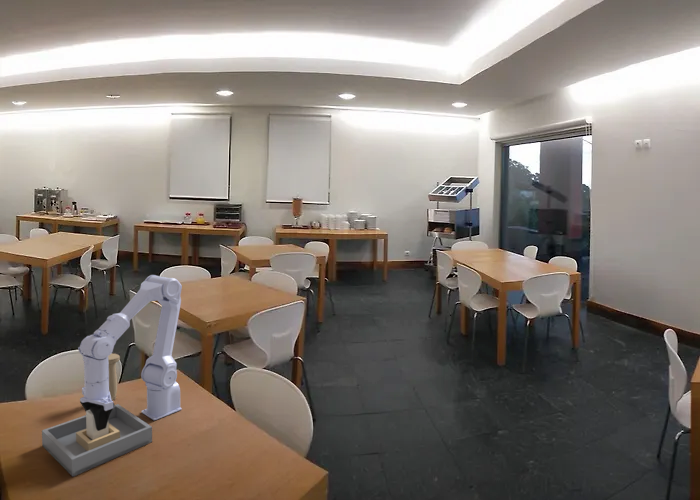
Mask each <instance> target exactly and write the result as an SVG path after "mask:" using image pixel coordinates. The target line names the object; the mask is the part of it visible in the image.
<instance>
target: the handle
mask: <svg viewBox="0 0 700 500" xmlns="http://www.w3.org/2000/svg"><path fill="white" fill-rule="evenodd" d="M120 359H121V356H120V355H119V354H117V353H113V352H112V353H111V354H110V355H109V356H108V361H109V391H110V395H111V400H112V401H114V400H116V399H117V391H118V378H117V377H118V376H117V366H116V365H117V363H118V362H119V361H120Z"/></svg>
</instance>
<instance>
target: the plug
mask: <svg viewBox="0 0 700 500" xmlns="http://www.w3.org/2000/svg"><path fill="white" fill-rule="evenodd" d="M97 406H98V405H97ZM85 415H86V431H87V436H89V437H90V438H91V439H92V440H94V439H96V438H99V437H102V436H104V435H107V434H109V427H108V422H107V426H106V428H105V429H102V430H100V431H98V430H97V429H96V425H95V419H94V416H93V414H92V412H91V410H87V411H86V412H85Z"/></svg>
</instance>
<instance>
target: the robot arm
mask: <svg viewBox="0 0 700 500" xmlns="http://www.w3.org/2000/svg"><path fill="white" fill-rule="evenodd" d="M182 287H183V285H182V284H181V282H180V281H179V280H178V279H177V278H174V277H165V276H160V275H156V274H150V275H149V276H147V277H146V278H145V280H143V282H141V283H140V287H139V289H138V291H137V292H136V293H135V294H134V296H133V297H132V298H131V299H130V300H129V302H128V303H126V305H125V306H124V307H123V308H122V310H121V311H120V312H118V313H112V315H108V316H107V318H106V320H105V321H104V322H103V323H102V325H100V326H99V328H98V329H95V331H94V332H93V333H92V334H89V335H87V336H86V337H84V338H83V339H82V340H81V342H80V345H79V346H78V347H77V349H78V353H79V354H80V355H82V360H83V372H84V373H83V375H84V377H83V379H84V380H83V381H84V382H83V383H84V386H83V387H81V394H82V395H83V397H80V398H79V403H80V405H81V406H82V407H83V410H84V411H85V413H86V411H87V410H91V412H92V414H93V416H94V419H95V425H96V429H97V430H98V431H100V430H102V429H105V428H106V426H107V422H108V418H109V415H110V413H111V411H112V409H113V408H114V406H115V405H116V404H115V403H114V400H111V395H110V391H109V361H108V356H109V355H110V354H111V353H112V354H113V352H114V348H115V345H116V343H117V341H118V340H119V339H120V338H121V337H122V335H124V333H125V332H126V331H127V330H128V329H129V328H130V326H131V320H132V319H133V318H134V317H135V316H136V315H137V314H138V313H139V312H140V311H142V309H144V308H145V307H146V306H147V305H148V304H149V303H150V302H154V301H157V302H158V303H159V305H161V309H160V315H159V320H158V325H157V331H156V336H155V341H154V347H153V351H152V352H153V353H152V355H151V356H149V357H148V358H147V359H146V361H145V365H144V366H143V368H142V370H141V373H140V376H141V377H140V378H141V380H142V381H143V382H145V384H144V385H145V387H146V408H145V409H142V410H141V412H140V413H142V414H143V415H145V416H147V417H148V418H149V419H151V420H153V421H157V420H159V419H161V418H164V417H167V416H169V415H171V414H174V413H176V412H179V411H181V410H183V409H182V407H181V388H180V384H179V383H178V382H177V381H176V380H177V377H178V371H177V365H178V363H177V362H176V360H175V358H173V356H172V354H173V349H174V344H175V343H174V342H175V339H176V338H175V337H176V332H177V327H178V321H179V317H180V310H181V304H182V298H181V293H182V290H183V289H182ZM97 405H98V406H97Z"/></svg>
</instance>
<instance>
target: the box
mask: <svg viewBox="0 0 700 500" xmlns="http://www.w3.org/2000/svg"><path fill="white" fill-rule="evenodd" d="M108 427H109V434H107V435H104V436H102V437H99V438H96V439H94V440H92V439H91V438H90V437H89V436H87V431H86V414H85V415H82V416H80V417H77V418H73V419H70V420H68V421H65V422H62V423H60V424H57V425H53V426H50V427H47V428H44V429H42V430H41V443H42V444H41V446H42V447H43V449H45V450H46V452H48V453H49V455H51V456H52V457H53V458H54V459H55V461H57V463H59V465H61V466H62V468H63V469H64V470H65V471H66V472H67V473H68V474H70V476H71V477H76V476H78V475H80V474H83V473H85V472H87V471H89V470H91V469H94V468H96V467H99V466H101V465H103V464H104V463H107V462H110V461H112V460H115V459H117V458H119V457H122V456H123V455H126V454H128V453H130V452H133V451H134V450H137V449H139V448H141V447H144V446H146V445H148V444H151V443H152V442H153V426H152V425H150V424H148V423H147V422H146V421H144V420H142V419H141V418H139V417H138V416H137V415H135V414H134V413H133V412H131V411H129V410H128V409H126V408H124V407H123V406H121V405H120V404H118V403H117V404H115V406H114V408H113V409H112V411H111V413H110V415H109V418H108Z"/></svg>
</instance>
